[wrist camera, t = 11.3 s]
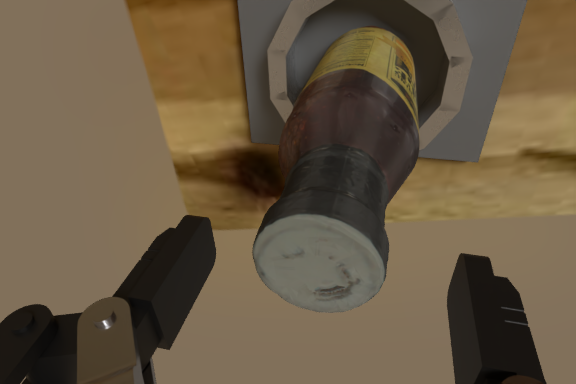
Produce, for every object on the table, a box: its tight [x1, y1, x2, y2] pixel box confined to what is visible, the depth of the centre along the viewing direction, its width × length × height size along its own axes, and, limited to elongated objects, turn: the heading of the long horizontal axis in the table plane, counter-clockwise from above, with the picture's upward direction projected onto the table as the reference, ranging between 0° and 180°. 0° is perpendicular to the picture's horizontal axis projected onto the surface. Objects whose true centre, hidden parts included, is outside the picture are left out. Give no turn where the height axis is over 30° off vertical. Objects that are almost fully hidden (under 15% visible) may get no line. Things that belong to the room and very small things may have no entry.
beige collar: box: [267, 0, 473, 150], centre depth 26 cm, size 12×12×3 cm
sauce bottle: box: [253, 26, 420, 313], centre depth 19 cm, size 6×6×20 cm
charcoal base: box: [238, 0, 527, 162], centre depth 28 cm, size 18×14×1 cm
